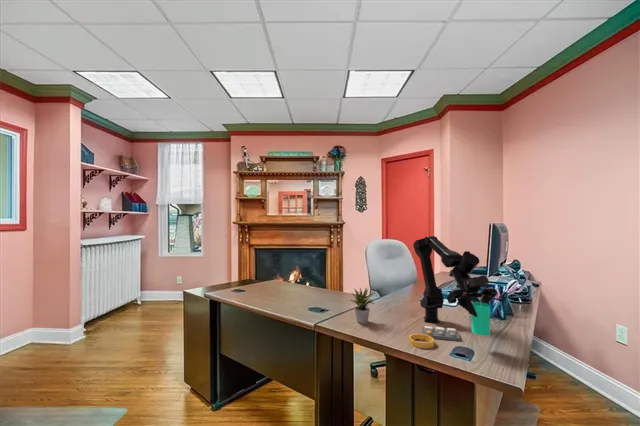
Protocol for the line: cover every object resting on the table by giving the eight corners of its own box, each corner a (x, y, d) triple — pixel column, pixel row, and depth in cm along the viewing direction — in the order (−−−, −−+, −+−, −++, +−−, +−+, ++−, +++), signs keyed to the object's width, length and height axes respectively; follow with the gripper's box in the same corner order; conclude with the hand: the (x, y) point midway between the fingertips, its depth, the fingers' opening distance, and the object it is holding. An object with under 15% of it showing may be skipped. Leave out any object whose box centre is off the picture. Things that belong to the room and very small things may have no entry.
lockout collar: (408, 337, 125) (408, 332, 125) (432, 340, 122) (432, 335, 122) (409, 346, 116) (409, 341, 116) (435, 349, 113) (435, 344, 113)
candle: (484, 329, 117) (484, 298, 117) (493, 335, 111) (493, 302, 111) (468, 329, 116) (468, 298, 117) (477, 335, 110) (477, 302, 111)
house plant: (378, 329, 135) (377, 291, 135) (346, 326, 137) (346, 290, 138) (378, 318, 149) (378, 285, 149) (349, 317, 151) (349, 283, 152)
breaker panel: (422, 329, 134) (422, 324, 134) (456, 333, 130) (456, 327, 130) (423, 337, 125) (423, 331, 125) (460, 341, 121) (460, 335, 121)
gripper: (451, 268, 116) (470, 306, 105) (494, 267, 120) (517, 303, 109) (439, 284, 124) (456, 321, 113) (480, 283, 127) (500, 318, 116)
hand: (483, 316), depth 112 cm, fingers closed on candle, 5 cm apart
